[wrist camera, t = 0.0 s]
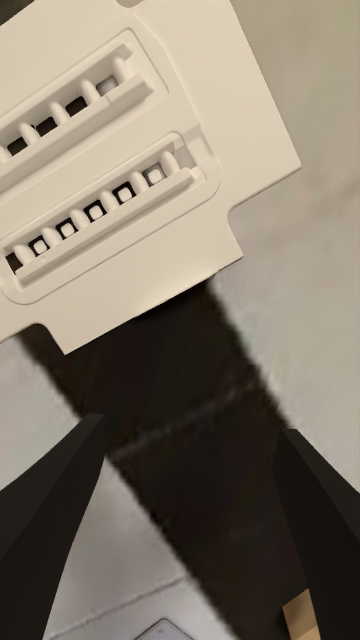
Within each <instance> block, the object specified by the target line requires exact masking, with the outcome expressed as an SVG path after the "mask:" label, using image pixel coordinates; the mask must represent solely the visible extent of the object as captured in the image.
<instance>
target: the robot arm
mask: <svg viewBox="0 0 360 640" xmlns="http://www.w3.org/2000/svg"><path fill="white" fill-rule="evenodd" d="M105 453H106V451H105V429H104V414H93V413H89V414H88V415H86V416H85V417H84V418H83V419H82V420H81V421H80V422H79V423H78V424H77V425H76V426H75V427H74V428H73V429H72V430H71V431H70V432H69V433H68V434H67V435H66V436H65V437H64V438H63V439H62V440H61V441H60V442H58V443H57V444H56V445H55V446H54V447H53V448H52V449H51V450H50V451H49V452H48V453H46V454H45V455H44V456H43V457H42V458H41V459H40V460H38V461H37V462H36V463H35V464H34V465H32V466H31V467H30V468H29V469H28V470H27V471H25V472H24V473H23V474H22V475H20V476H19V477H18V478H17V479H15V480H14V481H13V482H11V483H10V484H9V485H7V486H6V487H5V488H3V489H2V490H1V491H0V640H42V639H43V635H44V632H45V628H46V625H47V622H48V618H49V615H50V612H51V609H52V605H53V602H54V599H55V595H56V592H57V589H58V585H59V582H60V579H61V576H62V573H63V570H64V566H65V563H66V560H67V557H68V554H69V551H70V549H71V546H72V543H73V540H74V538H75V536H76V533H77V531H78V528H79V526H80V523H81V521H82V518H83V516H84V513H85V511H86V508H87V506H88V503H89V501H90V499H91V496H92V494H93V491H94V489H95V486H96V483H97V481H98V478H99V475H100V471H101V468H102V464H103V461H104V457H105ZM272 468H273V473H274V478H275V483H276V487H277V491H278V495H279V498H280V501H281V504H282V507H283V510H284V513H285V516H286V519H287V522H288V525H289V528H290V531H291V534H292V537H293V540H294V543H295V546H296V549H297V552H298V555H299V558H300V561H301V564H302V567H303V571H304V574H305V577H306V581H307V585H308V589H309V593H310V597H311V601H312V605H313V609H314V613H315V618H316V622H317V626H318V630H319V635H320V639H321V640H360V493H359V492H358V491H356V490H355V489H354V488H353V487H352V486H351V485H350V484H349V483H348V482H347V481H346V480H345V479H344V478H343V477H342V476H341V475H340V474H339V473H338V472H337V471H336V470H335V469H334V468H333V467H332V466H331V465H330V464H329V463H328V462H327V461H326V460H325V459H324V458H323V457H322V456H321V455H320V454H319V452H318V451H317V450H316V449H315V448H314V447H313V446H312V445H311V444H310V443H309V442H308V441H307V440H306V439H305V438H304V437H303V435H302V434H301V433H300V432H299V431H298V430H297V429H286V428H281V431H280V435H279V440H278V444H277V448H276V452H275V456H274V461H273V465H272ZM137 640H192V639H191V638H189V637H188V636H187V635H185V634H184V633H183V632H182V631H180V630H179V629H178V628H176V627H175V626H174V625H173V624H171V623H170V622H169V621H167V620H165V619H164V620H161V621H160V622H158V623H157V624H156V625H155V626H153V627H152V628H151V629H149V630H148V631H147V632H146V633H144V634H143V635H142V636H140V637H139V638H138V639H137Z"/></svg>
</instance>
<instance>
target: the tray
mask: <svg viewBox="0 0 360 640" xmlns="http://www.w3.org/2000/svg"><path fill="white" fill-rule="evenodd" d="M110 75H114V76H115V78H116V81H117V83H118V85H119V86H117V87H115V88H114V89H112V90H111V91H109V92H108V93H106V94H105V95H104V96H103V97H100V95H99V93H98V92H97V90H96V85H97V84H98V83H100V82H101V81H103V80H104V79H106V78H107V77H108V76H110ZM79 96H82V97H83V98H84V99H85V102H86V104H87V107H86V108H84V109H83V110H81V111H80V112H79V113H77V114H76V115H74V116H73V117H71V118H70V116H69V114H68V113H67V111H66V110H65V107H66V105H67V104H69V103H70V102H72V101H73V100H75V99H76V98H78V97H79ZM48 117H53V119H54V121H55V123H56V124H57V126H58V127H56V128H55V129H53V130H52V131H50V132H49V133H47V134H46V135H44V136H43V137H40V135H39V134H38V132H37V131H36V130H35V129H36V126H37V125H38V124H40V123H41V122H43V121H44V120H45V119H47V118H48ZM31 124H32V125H33V126H34V127H35V129H34V128H32V127H31ZM21 136H22V137H23V139H24V140H25V142H26V144H27V145H28V147H27V148H25V149H24V150H22V151H21V152H19V153H18V154H16V155H15V156H13V157H12V155H11V154H10V152H9V151H8V150H7V146H8V145H9V144H10V143H12V142H13V141H15V140H16V139H18V138H19V137H21ZM183 145H185V146H186V147H187V149H188V150H189V152H190V154H191V155H192V157H193V159H194V160H195V162H196V164H197V166H196V167H194V168H193V169H191V170H190V169H188V168H186V167H185V168H183V169H181V170H180V169H179V166H178V164H177V162H176V160H175V158H174V157H173V156H172V154H173V152H174V151H176V150H177V149H178V148H180V147H181V146H183ZM157 162H159V163H160V164H161V166H162V169H163V171H164V173H165V174H166V176H167V178H166V179H164V180H162V181H160V180H161V178H162V177H161V174H160V172H159V171H158V170H157V169H154V170H153V171H151V172H150V173H149V174H148V177H149V179H150V181H151V182H152V183H153V184H155V183H157V182H158V181H160V182H159V183H157V184H155V185H154V186H152V187H150V188H149V186H148V184H147V182H146V180H145V179H144V177H143V176H142V172H143V171H144V170H146V169H147V168H149V167H150V166H152V165H154V164H155V163H157ZM301 168H302V165H301V162H300V160H299V158H298V156H297V153H296V151H295V149H294V146H293V144H292V141H291V139H290V136H289V134H288V133H287V130H286V128H285V126H284V123H283V121H282V119H281V116H280V114H279V112H278V110H277V107H276V105H275V102H274V100H273V98H272V96H271V94H270V91H269V89H268V87H267V85H266V82H265V80H264V78H263V75H262V74H261V72H260V68H259V67H258V64H257V62H256V61H255V57H254V55H253V53H252V50H251V48H250V46H249V44H248V42H247V40H246V37H245V35H244V33H243V31H242V28H241V25H240V24H239V21H238V19H237V16H236V14H235V12H234V9H233V7H232V5H231V3H230V1H229V0H143V1H142V2H141V3H139V4H138V5H136V6H135V7H132V8H124V7H122V6H120V5H119V4H118V3H117V1H116V0H35V1H34V2H33V3H31V4H30V5H28V6H27V7H26V8H24V9H23V10H22V11H20V12H19V13H18V14H16V15H15V16H14V17H12V18H11V19H10V20H9V21H7V22H6V23H4V24H3V25H2V26H0V343H1V342H3V341H5V340H6V339H8V338H10V337H11V336H13V335H15V334H17V333H18V332H20V331H22V330H24V329H25V328H27V327H29V326H30V325H32V324H35V323H39V324H42V325H44V326H45V327H47V329H48V330H49V332H50V333H51V335H52V336H53V338H54V339H55V341H56V342H57V344H58V345H59V347H60V348H61V350H62V352H63V353H64V355H66V354H68V353H70V352H71V351H73V350H75V349H77V348H79V347H81V346H82V345H84V344H86V343H88V342H90V341H91V340H93V339H95V338H97V337H99V336H101V335H102V334H104V333H106V332H108V331H110V330H111V329H113V328H115V327H117V326H119V325H120V324H122V323H124V322H126V321H128V320H129V319H131V318H133V317H136V316H138V315H140V314H142V313H144V312H145V311H147V310H149V309H152V308H154V307H155V306H157V305H159V304H161V303H163V302H165V299H166V301H167V299H170V298H172V297H174V296H175V295H177V294H179V293H181V292H183V291H185V290H187V289H189V288H191V287H192V286H194V285H196V284H197V283H199V282H202V281H203V280H205V279H207V278H208V277H210V276H212V273H216V272H218V269H219V270H220V269H221V268H223V267H225V266H227V265H229V264H230V263H232V262H234V261H235V260H237V259H239V258H241V257H243V256H244V255H243V253H242V251H241V249H240V247H239V245H238V243H237V241H236V239H235V237H234V235H233V233H232V231H231V229H230V227H229V225H228V215H229V213H230V211H231V210H232V209H233V208H234V207H236V206H237V205H239V204H241V203H243V202H244V201H246V200H248V199H250V198H251V197H253V196H255V195H256V194H258V193H260V192H262V191H263V190H265V189H267V188H269V187H270V186H272V185H274V184H275V183H277V182H279V181H281V180H282V179H284V178H286V177H287V176H289V175H291V174H293V173H294V172H296V171H298V170H300V169H301ZM126 181H129V182H130V183H131V186H132V188H133V190H134V192H135V193H136V194H137V196H135V197H134V198H132V199H130V198H131V197H132V195H131V193H130V191H129V189H128V188H124V189H122V190H120V191H119V192H118V195H119V197H120V199H121V200H122V201H123V202H125V203H124V204H122V205H120V206H119V204H118V202H117V200H116V198H115V197H114V195H113V194H112V191H113V190H114V189H115V188H117V187H118V186H120V185H122V184H123V183H125V182H126ZM98 199H99V200H100V201H101V203H102V205H103V207H104V209H105V210H106V211H107V214H106V215H104V216H103V217H101V216H102V215H103V213H102V211H101V209H100V208H99V206H95V207H93V208H91V209H90V210H89V213H90V215H91V216H92V218H93V219H94V220H96V219H98V218H99V219H98V220H96V221H94V222H93V223H90V221H89V219H88V217H87V216H86V214H85V213H84V211H83V209H84V208H85V207H86V206H88V205H90V204H91V203H93V202H94V201H96V200H98ZM129 199H130V200H129ZM127 200H129V201H127ZM126 201H127V202H126ZM69 217H71V219H72V221H73V223H74V225H75V226H76V228H77V229H78V230H79V231H78V232H76V233H75V234H73V233H74V229H73V227H72V226H71V224H69V223H67V224H65V225H64V226H62V228H61V230H62V232H63V234H64V235H65V236H66V237H68V238H67V239H65V240H62V238H61V236H60V234H59V233H58V232H57V230H56V229H55V226H56V225H57V224H59V223H61V222H62V221H64V220H65V219H67V218H69ZM100 217H101V218H100ZM72 234H73V235H72ZM40 235H42V236H43V238H44V240H45V241H46V243H47V244H48V245H49V246H50V249H49V250H47V247H46V245H45V244H44V242H43V241H42V240H40V241H38V242H36V243H35V244H34V248H35V249H36V251H37V252H38V253H39V254H41V253H43V252H44V251H46V250H47V251H46V252H44V253H43V254H41V255H40V256H38V257H35V255H34V253H33V252H32V250H31V249H30V247H29V246H28V243H29V242H30V241H32V240H33V239H35V238H37V237H38V236H40ZM71 235H72V236H71ZM69 236H70V237H69ZM12 252H15V255H16V256H17V258H18V259H19V261H20V262H21V263H22V264H23V267H21V268H20V269H18V270H17V271H16V272H15V273H16V276H15V275H14V273H13V272H12V270H11V268H10V266H9V264H8V262H7V261H6V259H5V257H6V256H7V255H9V254H10V253H12ZM185 288H186V289H185ZM163 300H164V301H163Z"/></svg>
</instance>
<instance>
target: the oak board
mask: <svg viewBox="0 0 360 640" xmlns="http://www.w3.org/2000/svg"><path fill="white" fill-rule="evenodd" d="M282 608H283V611H284V615H285V619H286V622H287V626H288V629H289V633H290V637H291V640H321V639H320V635H319V630H318V626H317V622H316V618H315V613H314V609H313V605H312V601H311V597H310V593H309V589H306V590H305V591H304V592H302V593H301V594H299V595H298V596H297V597H295V598H294V599H292V600H291V601H290V602H288V603H287V604H286V605H284V606H283V607H282Z"/></svg>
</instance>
